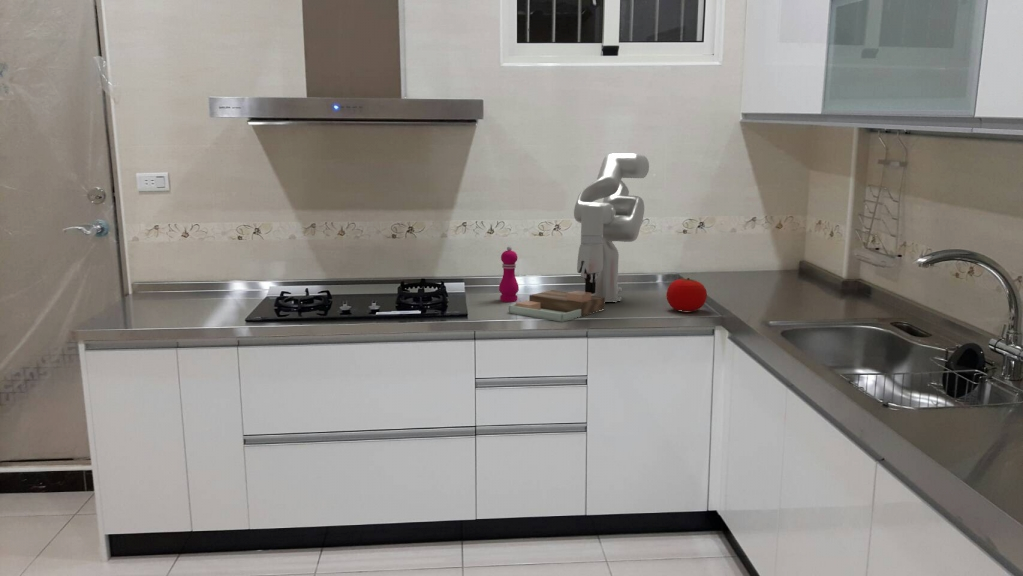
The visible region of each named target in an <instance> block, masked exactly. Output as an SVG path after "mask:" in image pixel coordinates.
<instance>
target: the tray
mask: <svg viewBox="0 0 1023 576" xmlns="http://www.w3.org/2000/svg"><path fill="white" fill-rule="evenodd" d="M508 313H509V314H514V315H520V316H524V317H525V316H526V317H531V318H532V317H533V318H538V319H543V320H550V321H555V322H561V323H563V322H568V321H571V320H574V318H575V319H578V318H581V317H582V316H581V309H578V310H574V311H571V312H567V313H566V312H560V311H554V310H548V309H542V308H540V310H536V309H530V308H524V307H517V306H516V303H515V304H509V305H508ZM580 316H581V317H580ZM577 317H578V318H577Z"/></svg>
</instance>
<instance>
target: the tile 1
mask: <svg viewBox="0 0 1023 576" xmlns="http://www.w3.org/2000/svg"><path fill="white" fill-rule="evenodd" d="M515 304H516V306H517V307H524V308H530V309H536V310H540V305H541V303H539V302H533V301H529V300H524V301H520V302H519V301H518V302H515Z"/></svg>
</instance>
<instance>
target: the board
mask: <svg viewBox="0 0 1023 576" xmlns="http://www.w3.org/2000/svg"><path fill="white" fill-rule="evenodd" d="M568 292H569V291H562V290H555V289H552V290H546V291H541V292H538V293H533V294H529V295H528V296H529V300H528V301H533V302H539V303H541V305H540V308H542V309H548V310H554V311H560V312H566V313H567V312H571V311H574V310H578V309H581V317H585V316H588V315H587V314H589V315H591V314H590V313H593V312H596V311H599V310H602V309H604V310H605V303H604V302H605V297H598V296H591V300H589V301H585V302H576V301H569V300H567V293H568ZM596 313H597V312H596ZM593 314H594V313H593ZM584 315H585V316H584Z"/></svg>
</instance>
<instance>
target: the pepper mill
mask: <svg viewBox="0 0 1023 576" xmlns="http://www.w3.org/2000/svg"><path fill="white" fill-rule="evenodd" d="M512 249H513V248H512V246H510V245H507V247H506V250H505V251H503V252H502V253H501V256H500V260H501V262H502V263H501V264H502V267H501V268H503V273H502V278H501V281H500V283H499V286H498V290H499V293H500V294H501V295H500V296H499V298H500V300H499V301H501V302H506V303H513V302H515V303H516V302H517V301H518V295H517V294H518V292H519V289H520V288H519V283H518V280H517V278H516V274H515V273H516V272H515V270H516V269H517V266H516V265H517V264H516V262H518V254H517V253H516V251H514V250H512Z"/></svg>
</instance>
